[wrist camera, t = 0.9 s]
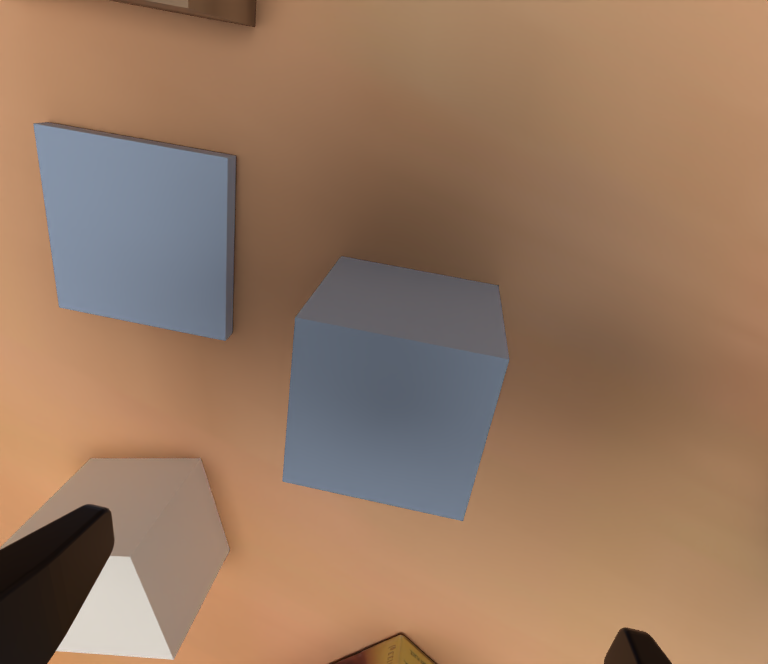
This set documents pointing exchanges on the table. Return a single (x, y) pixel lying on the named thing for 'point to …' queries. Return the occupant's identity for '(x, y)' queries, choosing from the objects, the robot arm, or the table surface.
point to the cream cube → (143, 553)
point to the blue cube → (394, 386)
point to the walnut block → (206, 9)
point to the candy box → (390, 653)
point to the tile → (140, 228)
